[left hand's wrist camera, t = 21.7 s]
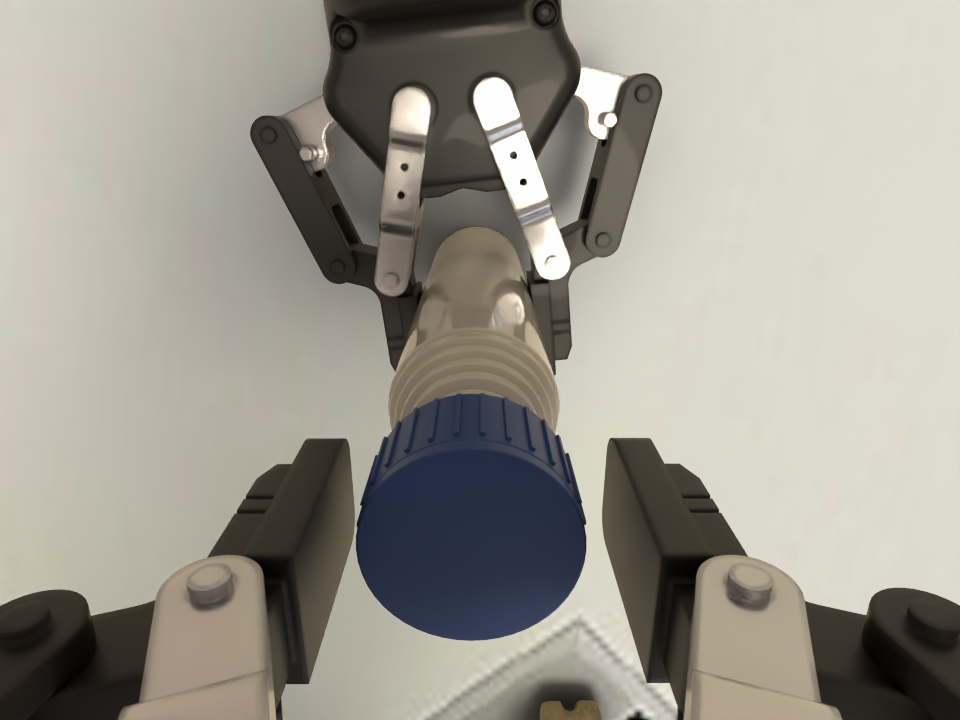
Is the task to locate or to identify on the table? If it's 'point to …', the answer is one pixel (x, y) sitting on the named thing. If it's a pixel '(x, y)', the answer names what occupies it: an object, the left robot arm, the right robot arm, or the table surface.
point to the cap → (471, 519)
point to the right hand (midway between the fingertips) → (484, 372)
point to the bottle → (475, 332)
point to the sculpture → (583, 716)
